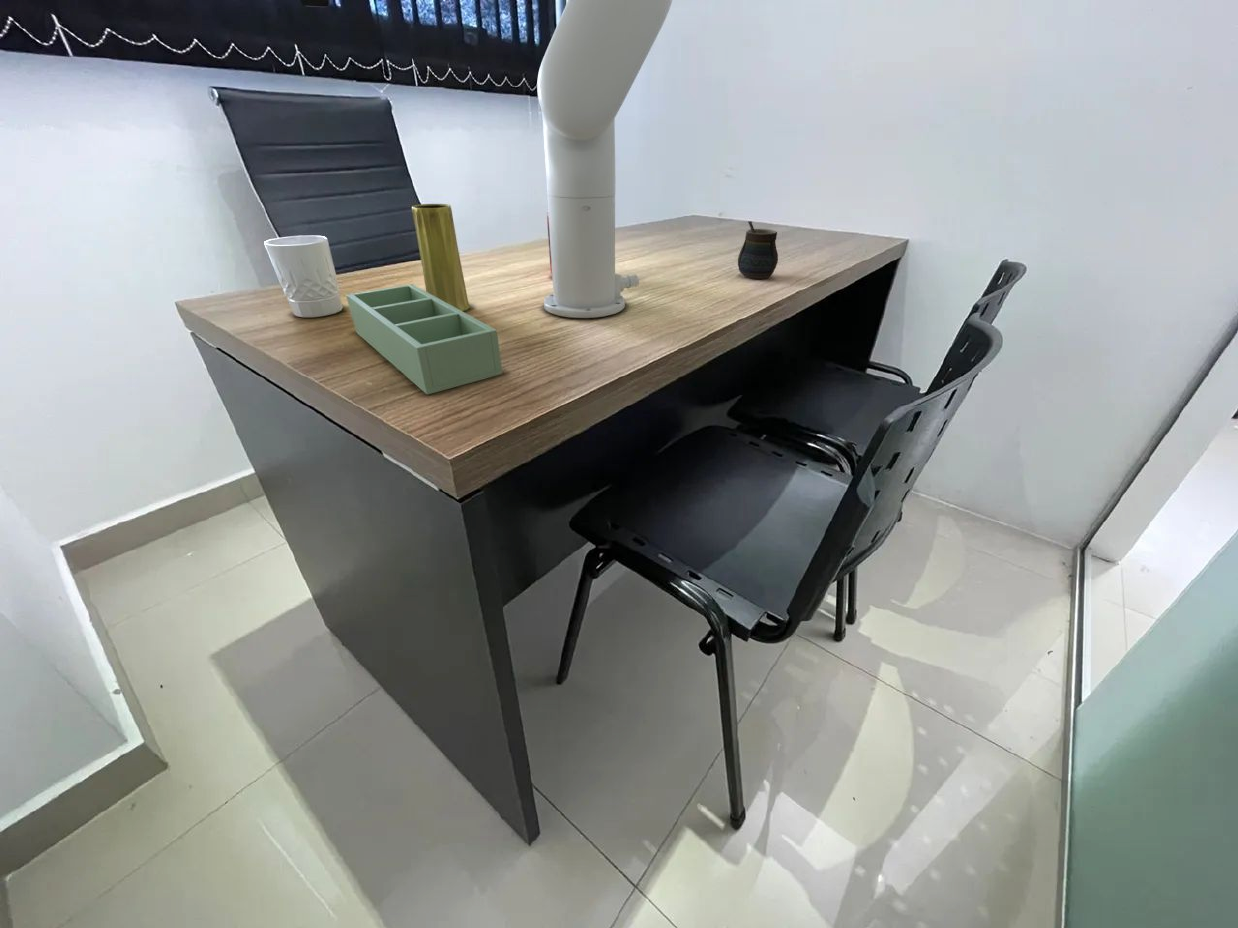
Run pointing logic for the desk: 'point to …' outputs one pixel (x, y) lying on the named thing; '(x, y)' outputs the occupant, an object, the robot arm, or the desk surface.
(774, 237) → the mate gourd
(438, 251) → the vase
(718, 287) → the desk surface
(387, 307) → the compartment tray
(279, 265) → the white cup
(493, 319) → the desk surface
